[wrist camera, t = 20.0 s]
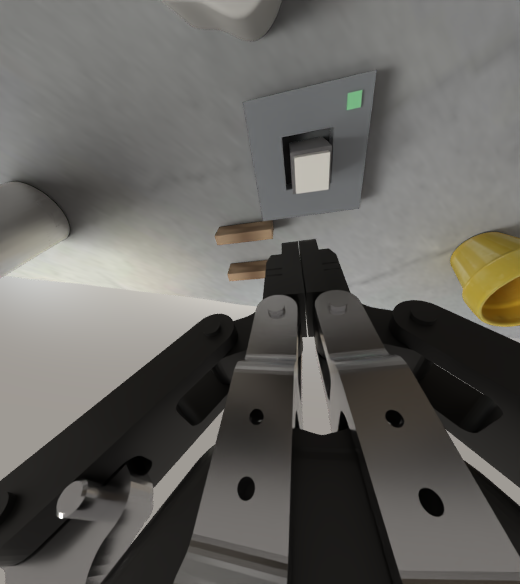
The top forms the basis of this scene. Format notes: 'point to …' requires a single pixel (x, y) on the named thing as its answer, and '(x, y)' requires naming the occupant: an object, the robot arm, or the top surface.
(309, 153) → the plug
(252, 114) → the port
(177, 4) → the white lumpy box
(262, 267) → the pair of wooden planks
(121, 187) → the top surface
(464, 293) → the plant pot
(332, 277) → the robot arm
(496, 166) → the top surface
